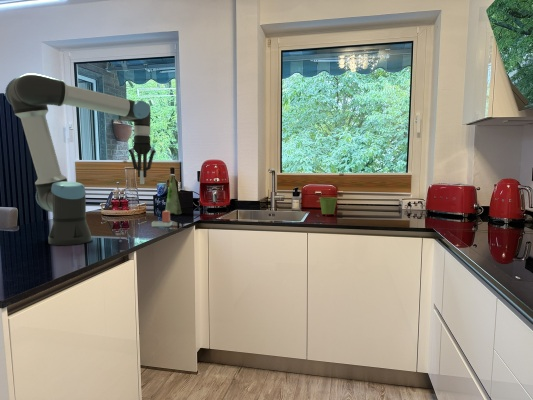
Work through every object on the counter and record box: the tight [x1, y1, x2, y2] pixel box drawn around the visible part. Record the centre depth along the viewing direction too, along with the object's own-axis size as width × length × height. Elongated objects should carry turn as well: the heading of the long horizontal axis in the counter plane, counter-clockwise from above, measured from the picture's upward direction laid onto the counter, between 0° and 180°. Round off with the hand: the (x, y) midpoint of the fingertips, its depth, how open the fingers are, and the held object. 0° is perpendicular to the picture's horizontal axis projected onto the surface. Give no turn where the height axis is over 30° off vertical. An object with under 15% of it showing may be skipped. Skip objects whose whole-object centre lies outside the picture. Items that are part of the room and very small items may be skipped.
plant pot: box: [318, 196, 339, 215], centre depth 237 cm, size 12×12×11 cm
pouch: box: [164, 173, 182, 215], centre depth 235 cm, size 11×12×25 cm
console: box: [151, 220, 173, 228], centre depth 192 cm, size 5×9×2 cm, turn 95°
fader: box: [161, 210, 171, 222], centre depth 192 cm, size 5×3×5 cm, turn 5°
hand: (142, 184), depth 187 cm, fingers closed
